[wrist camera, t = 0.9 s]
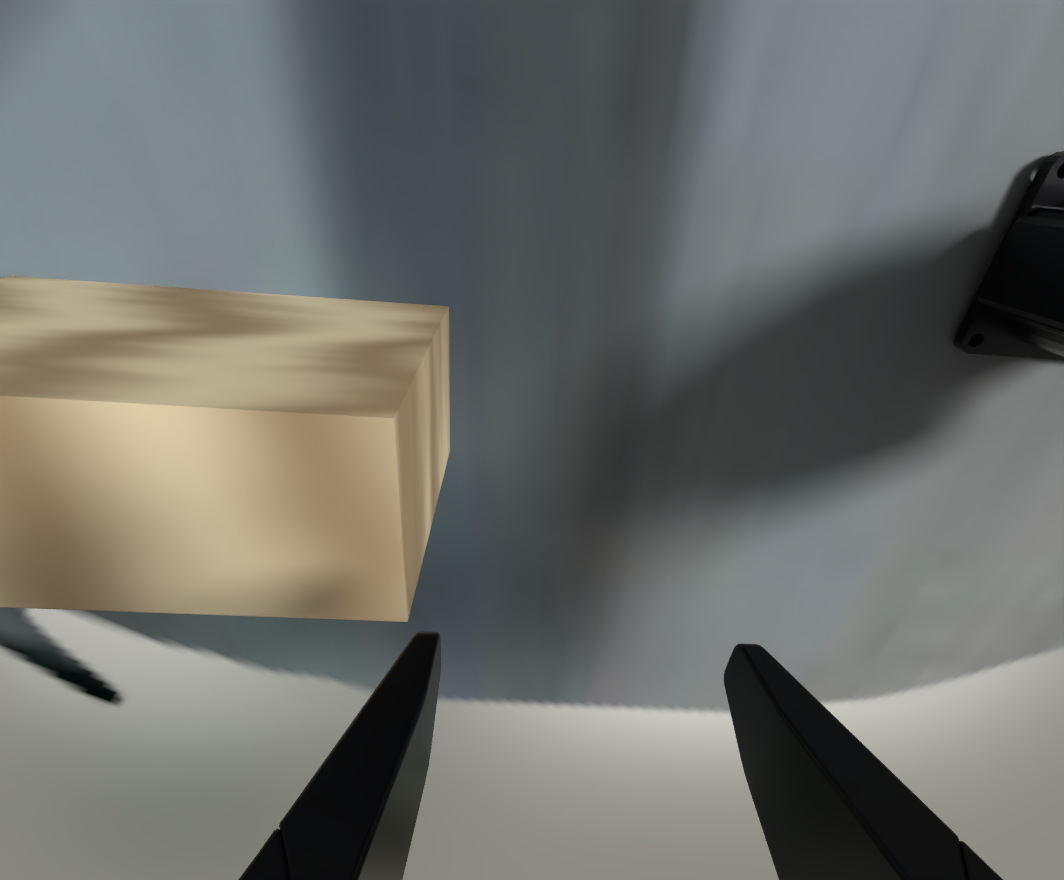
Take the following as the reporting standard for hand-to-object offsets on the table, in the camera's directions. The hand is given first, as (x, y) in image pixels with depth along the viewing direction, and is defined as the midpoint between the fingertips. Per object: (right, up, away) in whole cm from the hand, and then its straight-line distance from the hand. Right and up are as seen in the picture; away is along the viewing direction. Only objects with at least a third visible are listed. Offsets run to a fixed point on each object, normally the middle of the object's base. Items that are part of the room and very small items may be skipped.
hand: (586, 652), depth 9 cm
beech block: (-12, +7, +10) cm, 17 cm away
